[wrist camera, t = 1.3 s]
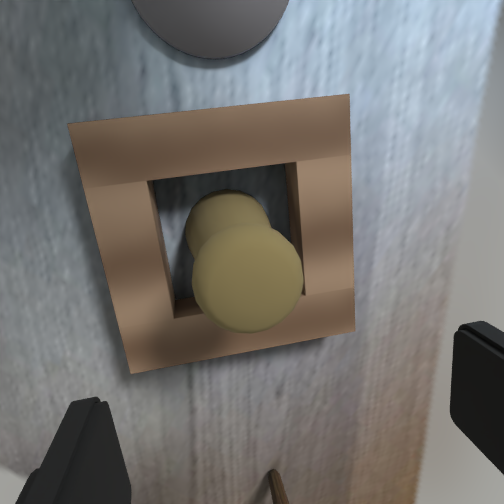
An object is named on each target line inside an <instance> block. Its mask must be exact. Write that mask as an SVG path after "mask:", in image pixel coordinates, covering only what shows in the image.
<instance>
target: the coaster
mask: <svg viewBox="0 0 504 504" xmlns="http://www.w3.org/2000/svg"><path fill="white" fill-rule="evenodd" d="M132 2H133V4H134V6H135V8H136V10H137V11H138V13H139V14H140V16H141V18H142V19H143V20H144V21H145V23H146V24H147V25H148V26H149V28H150V29H151V30H152V31H153V32H154V33H155V34H156V35H157V36H159V37H160V38H161V39H162V40H164V41H165V42H166V43H167V44H169V45H171V46H172V47H174V48H176V49H177V50H179V51H181V52H184V53H186V54H189V55H192V56H195V57H199V58H206V59H224V58H230V57H234V56H237V55H240V54H242V53H244V52H246V51H248V50H251V49H252V48H253V47H255V46H256V45H258V44H259V43H260V42H261V41H263V40H264V39H265V38H266V37H267V36H268V35H269V34H270V32H271V31H272V30H273V29H274V27H275V26H276V25H277V23H278V22H279V20H280V18H281V17H282V15H283V13H284V11H285V9H286V7H287V5H288V2H289V0H132Z"/></svg>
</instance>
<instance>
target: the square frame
mask: <svg viewBox="0 0 504 504" xmlns="http://www.w3.org/2000/svg"><path fill="white" fill-rule="evenodd" d="M67 125H68V129H69V133H70V137H71V141H72V145H73V149H74V153H75V157H76V161H77V164H78V168H79V172H80V176H81V180H82V184H83V188H84V192H85V196H86V200H87V204H88V208H89V212H90V216H91V220H92V223H93V227H94V231H95V235H96V239H97V243H98V247H99V251H100V255H101V259H102V263H103V267H104V271H105V275H106V279H107V282H108V286H109V290H110V294H111V298H112V302H113V306H114V310H115V314H116V318H117V322H118V326H119V330H120V334H121V338H122V341H123V345H124V349H125V353H126V357H127V361H128V365H129V369H130V373H131V374H134V373H139V372H144V371H149V370H154V369H160V368H165V367H170V366H175V365H181V364H186V363H191V362H196V361H202V360H207V359H212V358H217V357H223V356H228V355H233V354H238V353H244V352H249V351H254V350H259V349H265V348H270V347H275V346H280V345H286V344H291V343H296V342H301V341H307V340H312V339H317V338H322V337H327V336H333V335H338V334H343V333H348V332H354V331H355V300H354V259H353V218H352V177H351V137H350V96H349V94H343V95H333V96H324V97H314V98H305V99H295V100H286V101H276V102H267V103H258V104H248V105H239V106H229V107H220V108H210V109H201V110H191V111H182V112H172V113H163V114H153V115H144V116H135V117H125V118H116V119H106V120H97V121H87V122H78V123H68V124H67ZM282 163H285V174H286V186H287V198H288V211H289V223H290V236H291V244H292V245H293V246H294V248H295V250H296V252H297V254H298V256H299V258H300V260H301V265H302V272H303V279H304V281H303V287H302V292H301V297H300V298H299V300H298V302H297V304H296V306H295V308H294V310H293V311H292V312H291V313H290V314H289V315H288V316H287V317H286V318H285V319H284V320H283V321H282V322H281V323H279V324H277V325H275V326H274V327H272V328H270V329H268V330H265V331H261V332H257V333H253V334H247V333H234V332H231V331H228V330H225V329H222V328H220V327H219V326H217V325H216V324H215V323H213V322H212V321H211V320H209V319H208V318H207V317H206V315H205V314H204V312H203V311H202V309H201V308H200V306H199V305H198V304H197V302H196V300H195V297H189V298H184V299H178V300H176V299H175V294H174V289H173V284H172V279H171V273H170V268H169V263H168V258H167V253H166V248H165V242H164V237H163V232H162V227H161V222H160V217H159V212H158V206H157V201H156V196H155V191H154V186H153V181H152V180H156V179H164V178H172V177H180V176H188V175H195V174H203V173H211V172H219V171H227V170H235V169H242V168H250V167H258V166H266V165H274V164H282Z"/></svg>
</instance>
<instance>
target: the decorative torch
mask: <svg viewBox="0 0 504 504" xmlns="http://www.w3.org/2000/svg"><path fill="white" fill-rule="evenodd" d="M268 479H269V484H270V490H271V495H272V500H273V504H289V502H288V499H287V496H286V493H285V490H284V486H283V483H282V480H281V477H280V474H279V473H278V472H277V471H276V470H274V469H273V470H271V471H270V472H269V476H268Z"/></svg>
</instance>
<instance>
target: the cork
mask: <svg viewBox="0 0 504 504" xmlns="http://www.w3.org/2000/svg"><path fill="white" fill-rule="evenodd" d="M185 236H186V240H187V244H188V248H189V250H190V252H191V254H192V255H193V257H194V259H195V261H194V264H193V274H192V288H193V292H194V296H195V300H196V302H197V304H198V305H199V306H200V308H201V309H202V311H203V312H204V314H205V315H206V317H207V318H208V319H209V320H211V321H212V322H213V323H215V324H216V325H217V326H219V327H220V328H222V329H225V330H228V331H231V332H234V333H247V334H253V333H257V332H261V331H265V330H268V329H270V328H272V327H274V326H275V325H277V324H279V323H281V322H282V321H283V320H284V319H285V318H286V317H287V316H288V315H289V314H290V313H291V312H292V311H293V310H294V308H295V306H296V304H297V302H298V300H299V298H300V297H301V292H302V287H303V281H304V279H303V272H302V265H301V260H300V258H299V256H298V254H297V252H296V250H295V248H294V246H293V245H292V244H291V243H290V242H289V241H288V240H287V239H286V238H285V237H283V236H282V235H281V234H280V233H279V232H278V231H276V230H274V229H272V228H271V225H270V222H269V219H268V216H267V215H266V213H265V211H264V209H263V207H262V205H261V204H260V203H259V202H258V201H256V200H255V199H254V198H253V197H252V196H250V195H248V194H246V193H244V192H242V191H239V190H230V189H224V190H219V191H214V192H212V193H210V194H208V195H206V196H205V197H203V198H201V199H200V200H199V201H198V202H197V203H196V205H195V206H194V207H193V208H192V209H191V211H190V214H189V216H188V218H187V221H186V230H185Z"/></svg>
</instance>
